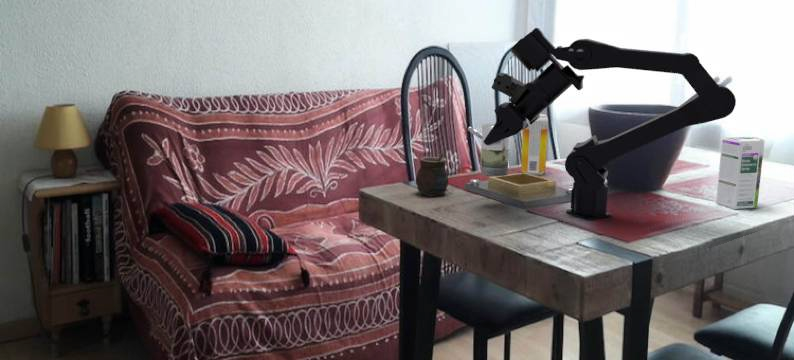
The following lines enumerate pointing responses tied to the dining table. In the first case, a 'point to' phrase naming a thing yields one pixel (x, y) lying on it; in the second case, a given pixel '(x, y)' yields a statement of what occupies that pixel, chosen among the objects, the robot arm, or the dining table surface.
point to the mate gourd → (432, 176)
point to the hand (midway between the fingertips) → (488, 141)
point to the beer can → (535, 146)
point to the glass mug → (492, 153)
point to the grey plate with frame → (521, 190)
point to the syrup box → (740, 172)
